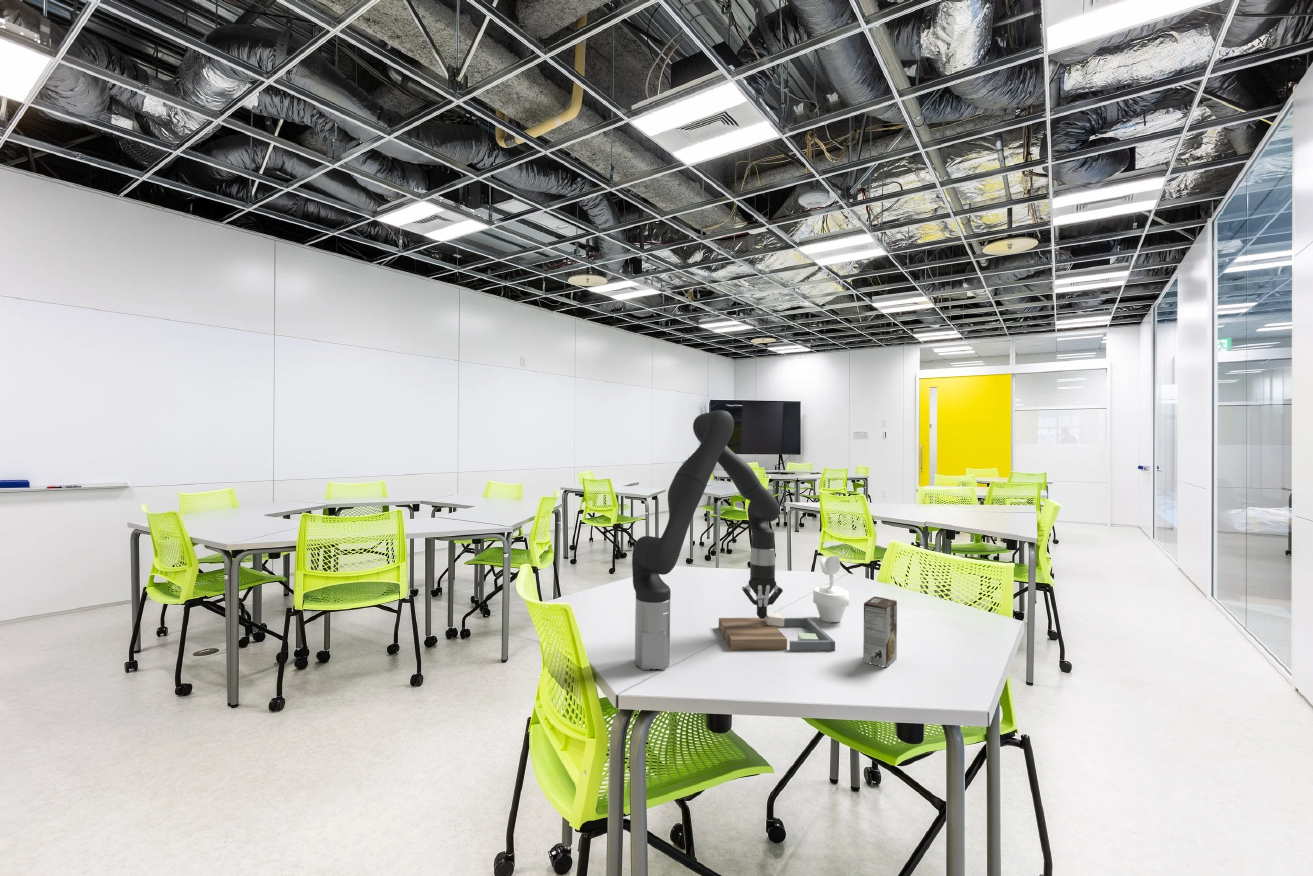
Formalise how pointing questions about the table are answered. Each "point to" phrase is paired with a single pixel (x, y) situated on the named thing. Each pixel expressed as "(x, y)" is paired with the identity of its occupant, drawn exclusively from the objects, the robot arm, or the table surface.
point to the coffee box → (880, 631)
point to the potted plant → (831, 592)
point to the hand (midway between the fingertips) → (761, 618)
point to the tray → (824, 640)
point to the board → (751, 634)
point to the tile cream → (774, 619)
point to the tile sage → (807, 637)
